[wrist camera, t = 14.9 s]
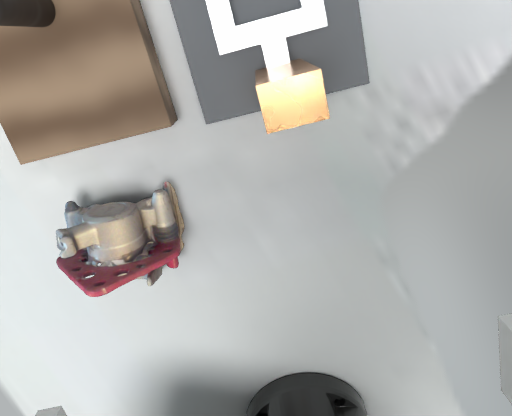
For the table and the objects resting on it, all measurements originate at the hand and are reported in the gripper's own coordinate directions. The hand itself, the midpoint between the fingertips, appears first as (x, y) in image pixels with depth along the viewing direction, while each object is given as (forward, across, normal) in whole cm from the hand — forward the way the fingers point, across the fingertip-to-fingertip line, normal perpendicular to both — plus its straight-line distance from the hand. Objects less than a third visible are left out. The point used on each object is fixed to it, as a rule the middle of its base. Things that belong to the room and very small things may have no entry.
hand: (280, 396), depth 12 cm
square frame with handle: (+28, -3, -12) cm, 31 cm away
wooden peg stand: (+29, +14, -14) cm, 35 cm away
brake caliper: (+30, +14, +4) cm, 33 cm away
